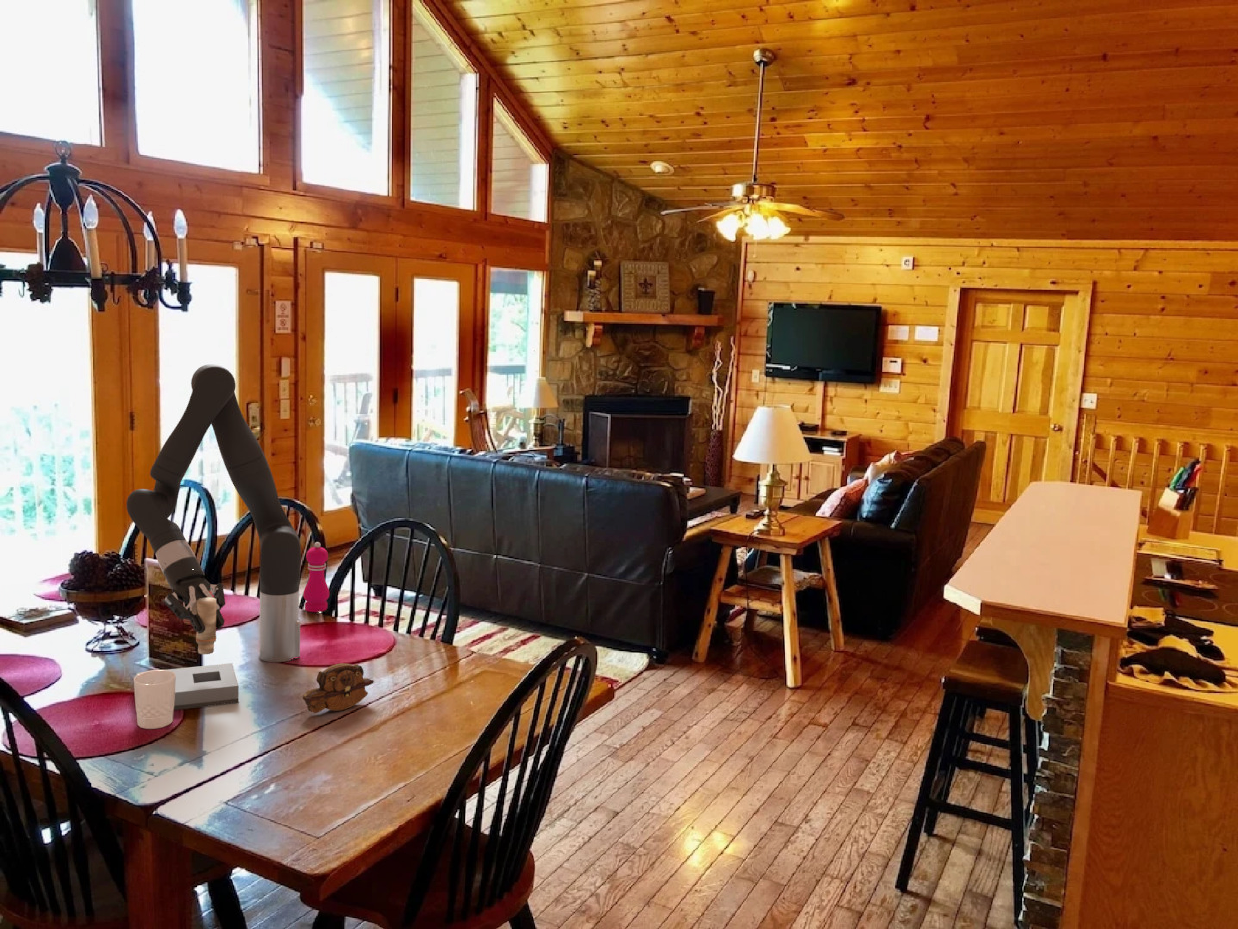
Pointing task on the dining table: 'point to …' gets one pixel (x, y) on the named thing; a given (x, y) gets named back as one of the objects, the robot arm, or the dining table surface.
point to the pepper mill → (316, 580)
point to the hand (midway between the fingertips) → (211, 628)
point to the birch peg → (206, 625)
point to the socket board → (205, 686)
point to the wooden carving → (337, 688)
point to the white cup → (154, 698)
